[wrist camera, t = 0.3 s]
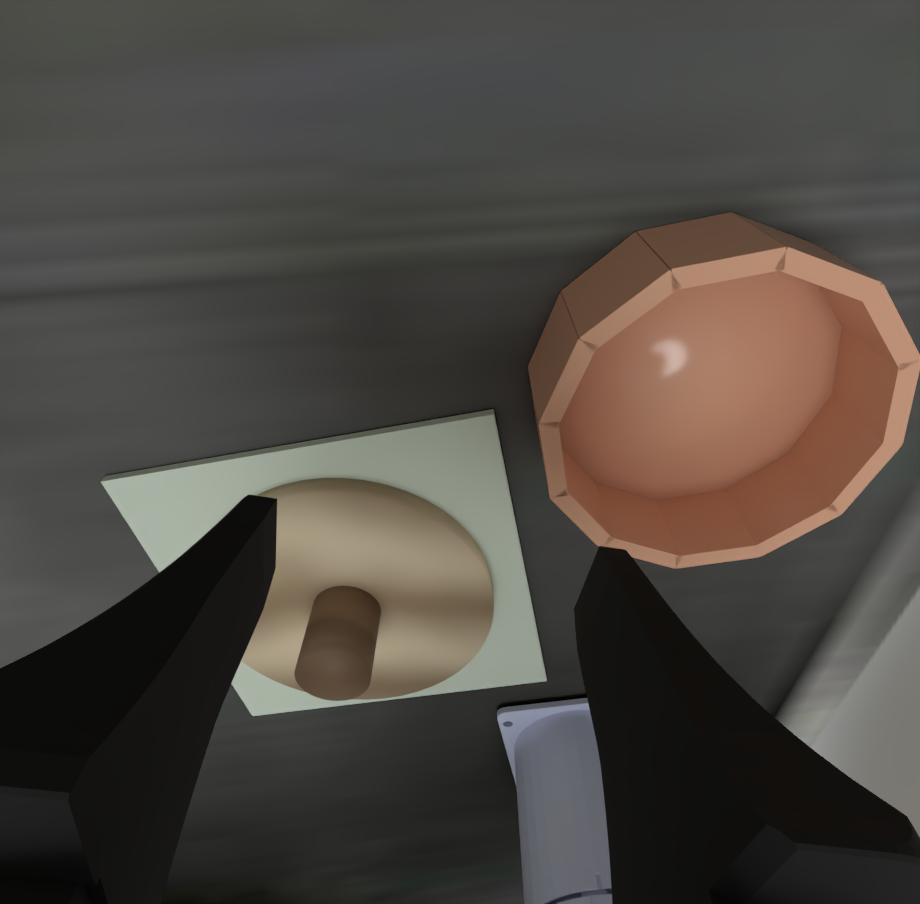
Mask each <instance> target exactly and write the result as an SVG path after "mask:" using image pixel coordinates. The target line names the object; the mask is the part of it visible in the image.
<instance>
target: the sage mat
mask: <svg viewBox="0 0 920 904" xmlns="http://www.w3.org/2000/svg"><path fill="white" fill-rule="evenodd" d="M319 478H349V479H358V480H367V481H371V482H376V483H381V484H385V485H389V486H392V487H395V488H398V489H401V490H404V491H407V492H409V493H412V494H414V495H416V496H418V497H421V498H423V499H425V500H427V501H428V502H430V503H432V504H434V505H435V506H437V507H439V508H440V509H442V510H443V511H445V512H446V513H447V514H449V515H450V516H451V517H452V518H454V519H455V520H456V521H457V522H458V523H459V524H460V525H461V526H462V527H463V528H464V529H465V530H466V531H467V532H468V533H469V534H470V535H471V536H472V538H473V539H474V540H475V542H476V543H477V544H478V546H479V547H480V549H481V551H482V553H483V555H484V556H485V558H486V560H487V563H488V566H489V569H490V572H491V577H492V584H493V597H494V613H493V621H492V625H491V630H490V632H489V634H488V637H487V639H486V641H485V643H484V645H483V646H482V648H481V649H480V651H479V652H478V654H477V655H476V656H475V657H474V658H473V659H472V660H471V661H470V662H469V663H468V664H467V665H466V666H465V667H464V668H462V669H461V670H460V671H459V672H457V673H456V674H454V675H453V676H451V677H450V678H448V679H446V680H444V681H442V682H440V683H438V684H436V685H434V686H432V687H429V688H427V689H424V690H421V691H418V692H415V693H411V694H407V695H403V696H397V697H391V698H383V699H370V700H363V699H350V700H344V701H331V700H324V699H320V698H317V697H315V696H312V695H310V694H309V693H307V692H304V691H300V690H297V689H294V688H291V687H288V686H285V685H283V684H281V683H278V682H276V681H274V680H271V679H269V678H267V677H266V676H264V675H262V674H260V673H258V672H256V671H255V670H253V669H252V668H250V667H249V666H247V665H246V664H244V663H243V662H240V665H239V667H238V669H237V671H236V674H235V676H234V678H233V681H232V683H231V684H232V685H233V687H234V688H235V690H236V691H237V693H238V694H239V696H240V698H241V699H242V701H243V702H244V704H245V705H246V707H247V708H248V710H249V711H250V713H251V714H252V716H257V715H265V714H274V713H282V712H291V711H299V710H308V709H316V708H325V707H333V706H341V705H350V704H358V703H367V702H375V701H384V700H392V699H400V698H409V697H417V696H426V695H434V694H443V693H451V692H460V691H468V690H476V689H485V688H493V687H502V686H510V685H519V684H527V683H535V682H544V681H547V678H546V672H545V667H544V662H543V657H542V652H541V647H540V642H539V637H538V632H537V627H536V621H535V616H534V611H533V606H532V601H531V596H530V591H529V586H528V581H527V576H526V571H525V566H524V561H523V556H522V551H521V546H520V541H519V536H518V531H517V526H516V520H515V515H514V510H513V505H512V500H511V495H510V490H509V485H508V480H507V475H506V470H505V465H504V460H503V455H502V450H501V445H500V440H499V435H498V430H497V425H496V419H495V414H494V409H491V410H485V411H480V412H474V413H468V414H462V415H456V416H451V417H445V418H439V419H433V420H427V421H422V422H416V423H410V424H404V425H398V426H392V427H387V428H381V429H375V430H369V431H363V432H358V433H352V434H346V435H340V436H334V437H329V438H323V439H317V440H311V441H305V442H300V443H294V444H288V445H282V446H276V447H270V448H265V449H259V450H253V451H247V452H241V453H236V454H230V455H224V456H218V457H212V458H207V459H201V460H195V461H189V462H183V463H178V464H172V465H166V466H160V467H154V468H148V469H143V470H137V471H131V472H125V473H119V474H114V475H108V476H105V477H104V478H103V479H102V481H101V483H102V485H103V486H104V488H105V489H106V491H107V492H108V494H109V495H110V497H111V498H112V500H113V502H114V503H115V505H116V506H117V508H118V509H119V511H120V512H121V514H122V515H123V517H124V519H125V520H126V522H127V523H128V525H129V526H130V528H131V529H132V531H133V532H134V534H135V536H136V537H137V539H138V540H139V542H140V543H141V545H142V546H143V548H144V549H145V551H146V552H147V554H148V556H149V557H150V559H151V560H152V562H153V563H154V565H155V566H156V568H157V569H158V571H159V573H160V572H161V571H162V570H163V569H165V568H166V567H167V566H169V565H170V564H171V563H172V562H174V561H175V560H176V559H177V558H179V557H180V556H181V555H182V554H183V553H185V552H186V551H187V550H188V549H189V548H190V547H191V546H193V545H194V544H195V543H196V542H197V541H198V540H199V539H201V538H202V537H203V536H204V535H205V534H206V533H207V532H208V531H210V530H211V529H212V528H213V527H214V526H215V525H216V524H217V523H218V522H219V521H220V520H221V519H222V518H223V517H224V516H226V515H227V514H228V513H229V512H230V511H231V510H232V509H233V508H234V507H235V506H236V505H237V504H238V503H239V502H240V501H241V500H242V499H243V498H244V497H246V496H247V495H258V494H260V493H262V492H264V491H267V490H269V489H272V488H275V487H278V486H281V485H284V484H288V483H293V482H297V481H301V480H310V479H319Z"/></svg>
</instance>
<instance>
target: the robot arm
mask: <svg viewBox="0 0 920 904" xmlns="http://www.w3.org/2000/svg"><path fill="white" fill-rule="evenodd" d="M276 532H277V499H276V498H269V497H263V496H256V495H247V496H246V497H244V498H243V499H242V500H241V501H240V502H239V503H238V504H237V505H236V506H235V507H234V508H233V509H232V510H231V511H230V512H229V513H228V514H227V515H226V516H224V517H223V518H222V519H221V520H220V521H219V522H218V523H217V524H216V525H215V526H214V527H213V528H212V529H211V530H210V531H208V532H207V533H206V534H205V535H204V536H203V537H202V538H201V539H199V540H198V541H197V542H196V543H195V544H194V545H193V546H191V547H190V548H189V549H188V550H187V551H186V552H185V553H183V554H182V555H181V556H180V557H179V558H177V559H176V560H175V561H174V562H172V563H171V564H170V565H169V566H167V567H166V568H165V569H163V570H162V571H161V572H160V573H158V574H157V575H156V576H154V577H153V578H152V579H151V580H149V581H148V582H147V583H145V584H144V585H143V586H141V587H140V588H138V589H137V590H136V591H134V592H133V593H132V594H130V595H129V596H127V597H126V598H124V599H123V600H121V601H120V602H118V603H117V604H115V605H114V606H112V607H111V608H109V609H108V610H106V611H105V612H103V613H102V614H100V615H98V616H97V617H95V618H93V619H92V620H90V621H88V622H87V623H85V624H83V625H82V626H80V627H78V628H77V629H75V630H73V631H72V632H70V633H68V634H66V635H65V636H63V637H61V638H59V639H58V640H56V641H54V642H52V643H50V644H49V645H47V646H45V647H43V648H41V649H39V650H37V651H35V652H33V653H31V654H29V655H27V656H25V657H23V658H21V659H19V660H17V661H15V662H13V663H11V664H9V665H6V666H4V667H2V668H0V904H160V903H161V899H162V896H163V892H164V889H165V885H166V881H167V878H168V874H169V871H170V867H171V864H172V861H173V857H174V854H175V850H176V847H177V844H178V840H179V837H180V834H181V830H182V827H183V823H184V820H185V817H186V813H187V810H188V807H189V804H190V800H191V797H192V794H193V791H194V788H195V784H196V781H197V778H198V775H199V771H200V768H201V765H202V762H203V759H204V756H205V753H206V750H207V747H208V744H209V740H210V737H211V734H212V731H213V728H214V725H215V722H216V719H217V717H218V714H219V712H220V709H221V706H222V704H223V701H224V699H225V697H226V694H227V692H228V690H229V687H230V685H231V683H232V681H233V678H234V676H235V674H236V671H237V669H238V667H239V665H240V662H241V660H242V658H243V655H244V653H245V651H246V649H247V646H248V644H249V642H250V639H251V637H252V635H253V632H254V630H255V628H256V625H257V623H258V621H259V619H260V616H261V614H262V611H263V609H264V606H265V602H266V599H267V596H268V593H269V589H270V586H271V582H272V579H273V575H274V572H275V568H276ZM574 611H575V627H576V640H577V651H578V656H579V661H580V666H581V671H582V676H583V681H584V685H585V690H586V695H587V698H579V699H571V700H562V701H553V702H545V703H536V704H527V705H518V706H510V707H503V708H500V709H499V710H498V711H497V720H498V724H499V727H500V731H501V734H502V738H503V741H504V745H505V748H506V752H507V755H508V759H509V762H510V766H511V769H512V773H513V776H514V780H515V783H516V787H517V802H518V816H519V831H520V846H521V860H522V875H523V890H524V904H920V837H919V836H918V834H917V832H916V831H915V829H914V827H913V826H912V824H911V822H910V821H909V819H908V818H907V816H905V815H904V814H903V813H901V812H900V811H898V810H897V809H895V808H894V807H892V806H891V805H889V804H888V803H886V802H885V801H883V800H882V799H880V798H879V797H878V796H876V795H875V794H873V793H872V792H870V791H869V790H867V789H866V788H864V787H863V786H861V785H859V784H858V783H856V782H855V781H854V780H852V779H851V778H850V777H848V776H847V775H846V774H844V773H843V772H841V771H840V770H839V769H838V768H836V767H835V766H834V765H832V764H831V763H830V762H828V761H827V760H826V759H824V758H823V757H821V756H820V755H819V754H817V753H816V752H815V751H814V750H813V749H811V748H810V747H809V746H808V745H806V744H805V743H804V742H803V741H801V740H800V739H799V738H798V737H796V736H795V735H794V734H793V733H792V732H790V731H789V730H788V729H787V728H786V727H785V726H783V725H782V724H781V723H780V722H779V721H778V720H776V719H775V718H774V717H773V716H772V715H771V714H769V713H768V712H767V711H766V710H765V709H764V708H763V707H762V706H761V705H759V704H758V703H757V702H756V701H755V700H754V699H753V698H752V697H751V696H750V695H749V694H748V693H747V692H746V691H745V690H744V689H743V688H742V687H741V686H740V685H739V684H738V683H737V682H736V681H735V680H734V679H733V678H731V677H730V676H729V675H728V674H727V673H726V671H725V670H724V669H723V668H722V667H721V666H720V665H719V664H718V663H717V662H716V661H715V660H714V659H713V658H712V657H711V655H710V654H709V653H708V652H707V651H706V650H705V649H704V648H703V646H702V645H701V644H700V643H699V642H698V641H697V640H696V639H695V637H694V636H693V635H692V634H691V633H690V631H689V630H688V629H687V628H686V627H685V625H684V624H683V623H682V622H681V621H680V619H679V618H678V617H677V616H676V614H675V613H674V612H673V611H672V609H671V608H670V607H669V606H668V604H667V603H666V602H665V600H664V599H663V598H662V597H661V595H660V594H659V593H658V591H657V590H656V589H655V587H654V586H653V585H652V583H651V582H650V581H649V579H648V578H647V577H646V575H645V574H644V573H643V571H642V570H641V569H640V567H639V566H638V565H637V564H636V562H635V561H634V560H633V558H632V557H631V556H630V554H629V553H628V552H627V551H626V550H624V549H618V548H611V547H604V546H599V549H598V551H597V554H596V556H595V559H594V561H593V564H592V566H591V569H590V571H589V574H588V576H587V578H586V581H585V583H584V586H583V588H582V591H581V593H580V596H579V598H578V601H577V603H576V606H575V608H574Z"/></svg>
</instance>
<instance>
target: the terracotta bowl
mask: <svg viewBox="0 0 920 904" xmlns="http://www.w3.org/2000/svg"><path fill="white" fill-rule="evenodd" d="M919 371H920V354H919V352H918V350H917V349H916V347H915V345H914V343H913V341H912V339H911V337H910V335H909V333H908V331H907V329H906V327H905V325H904V323H903V321H902V319H901V317H900V315H899V314H898V312H897V310H896V308H895V306H894V304H893V302H892V300H891V298H890V296H889V294H888V292H887V290H886V288H885V286H884V284H883V283H882V282H880V281H878V280H877V279H875V278H873V277H871V276H870V275H868V274H866V273H864V272H862V271H861V270H859V269H857V268H855V267H854V266H852V265H850V264H848V263H846V262H845V261H843V260H841V259H839V258H838V257H836V256H834V255H832V254H830V253H829V252H827V251H825V250H823V249H822V248H820V247H818V246H816V245H814V244H813V243H811V242H808V241H806V240H803V239H800V238H798V237H795V236H793V235H790V234H787V233H785V232H782V231H780V230H777V229H774V228H772V227H769V226H767V225H764V224H761V223H759V222H756V221H754V220H751V219H748V218H746V217H743V216H741V215H738V214H735V213H733V212H732V213H731V212H729V213H724V214H719V215H714V216H709V217H704V218H699V219H694V220H689V221H684V222H679V223H674V224H669V225H664V226H659V227H654V228H649V229H644V230H639V231H636V232H634V233H633V234H632V235H630V236H629V237H628V238H627V239H625V240H624V241H623V242H622V243H620V244H619V245H618V246H617V247H615V248H614V249H613V250H611V251H610V252H609V253H608V254H606V255H605V256H604V257H603V258H601V259H600V260H599V261H598V262H596V263H595V264H594V265H593V266H591V267H590V268H589V269H588V270H586V271H585V272H584V273H583V274H581V275H580V276H579V277H578V278H576V279H575V280H574V281H573V282H571V283H570V284H569V285H568V286H566V287H565V288H564V289H563V290H561V292H560V294H559V296H558V298H557V300H556V303H555V305H554V307H553V310H552V312H551V314H550V317H549V319H548V321H547V323H546V326H545V328H544V330H543V333H542V335H541V337H540V340H539V342H538V344H537V346H536V349H535V351H534V353H533V356H532V358H531V360H530V363H529V365H528V373H529V380H530V386H531V392H532V399H533V405H534V412H535V418H536V424H537V431H538V437H539V442H540V447H541V453H542V458H543V464H544V469H545V474H546V480H547V485H548V491H549V496H550V499H551V500H552V501H553V502H554V503H555V504H556V505H557V506H558V507H559V508H560V509H561V510H562V511H563V512H564V513H565V514H566V515H567V516H568V517H569V518H570V519H571V520H572V521H573V522H574V523H575V524H576V525H577V526H578V527H579V528H580V529H581V530H582V531H583V532H584V533H585V534H586V535H587V536H588V537H589V538H590V539H591V540H592V541H593V542H594V543H595V544H596V545H597V546H598V547H599V546H604V547H611V548H618V549H624V550H626V551H627V552H628V553H629V554H630V556H631V557H633V558H637V559H640V560H644V561H648V562H652V563H655V564H659V565H663V566H667V567H670V568H674V569H675V568H676V569H677V568H684V567H692V566H699V565H706V564H714V563H721V562H728V561H736V560H743V559H750V558H757V557H759V556H760V557H761V556H763V555H765V554H767V553H769V552H771V551H773V550H775V549H777V548H778V547H780V546H782V545H784V544H786V543H788V542H790V541H792V540H794V539H796V538H798V537H800V536H801V535H803V534H805V533H807V532H809V531H811V530H813V529H815V528H817V527H819V526H821V525H822V524H824V523H826V522H828V521H830V520H832V519H834V518H836V517H838V516H840V515H841V514H842V513H843V512H844V511H845V510H846V509H847V508H848V507H849V505H850V504H851V503H852V502H853V501H854V500H855V499H856V497H857V496H858V495H859V494H860V493H861V492H862V491H863V489H864V488H865V487H866V486H867V485H868V484H869V483H870V481H871V480H872V479H873V478H874V477H875V476H876V475H877V473H878V472H879V471H880V470H881V469H882V468H883V467H884V465H885V464H886V463H887V462H888V461H889V460H890V459H891V457H892V456H893V455H894V454H895V453H896V452H897V450H898V449H899V448H900V447H901V446H902V445H901V444H903V441H904V436H905V432H906V428H907V423H908V419H909V414H910V410H911V406H912V401H913V397H914V393H915V388H916V384H917V379H918V375H919Z"/></svg>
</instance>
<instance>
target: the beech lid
mask: <svg viewBox="0 0 920 904" xmlns="http://www.w3.org/2000/svg"><path fill="white" fill-rule="evenodd" d="M256 496H263V497H269V498H276V499H277V532H276V568H275V572H274V575H273V579H272V582H271V586H270V589H269V593H268V596H267V599H266V602H265V606H264V609H263V611H262V614H261V616H260V619H259V621H258V623H257V625H256V628H255V630H254V632H253V635H252V637H251V639H250V642H249V644H248V646H247V649H246V651H245V653H244V655H243V658H242V660H241V662H243V663H244V664H246V665H247V666H249V667H250V668H252V669H253V670H255V671H256V672H258V673H260V674H262V675H264V676H266V677H267V678H269V679H271V680H274V681H276V682H278V683H281V684H283V685H285V686H288V687H291V688H294V689H297V690H300V691H304V692H307V693H309V694H310V695H312V696H315V697H317V698H320V699H324V700H331V701H344V700H350V699H363V700H370V699H383V698H391V697H397V696H403V695H407V694H411V693H415V692H418V691H421V690H424V689H427V688H429V687H432V686H434V685H436V684H438V683H440V682H442V681H444V680H446V679H448V678H450V677H451V676H453V675H454V674H456V673H457V672H459V671H460V670H461V669H462V668H464V667H465V666H466V665H467V664H468V663H469V662H470V661H471V660H472V659H473V658H474V657H475V656H476V655H477V654H478V652H479V651H480V649H481V648H482V646H483V645H484V643H485V641H486V639H487V637H488V634H489V632H490V630H491V625H492V621H493V613H494V597H493V584H492V577H491V572H490V569H489V566H488V563H487V560H486V558H485V556H484V555H483V553H482V551H481V549H480V547H479V546H478V544H477V543H476V542H475V540H474V539H473V538H472V536H471V535H470V534H469V533H468V532H467V531H466V530H465V529H464V528H463V527H462V526H461V525H460V524H459V523H458V522H457V521H456V520H455V519H454V518H452V517H451V516H450V515H449V514H447V513H446V512H445V511H443V510H442V509H440V508H439V507H437V506H435V505H434V504H432V503H430V502H428V501H427V500H425V499H423V498H421V497H418V496H416V495H414V494H412V493H409V492H407V491H404V490H401V489H398V488H395V487H392V486H389V485H385V484H381V483H376V482H371V481H367V480H358V479H349V478H319V479H310V480H301V481H297V482H293V483H288V484H284V485H281V486H278V487H275V488H272V489H269V490H267V491H264V492H262V493H260V494H258V495H256Z"/></svg>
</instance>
